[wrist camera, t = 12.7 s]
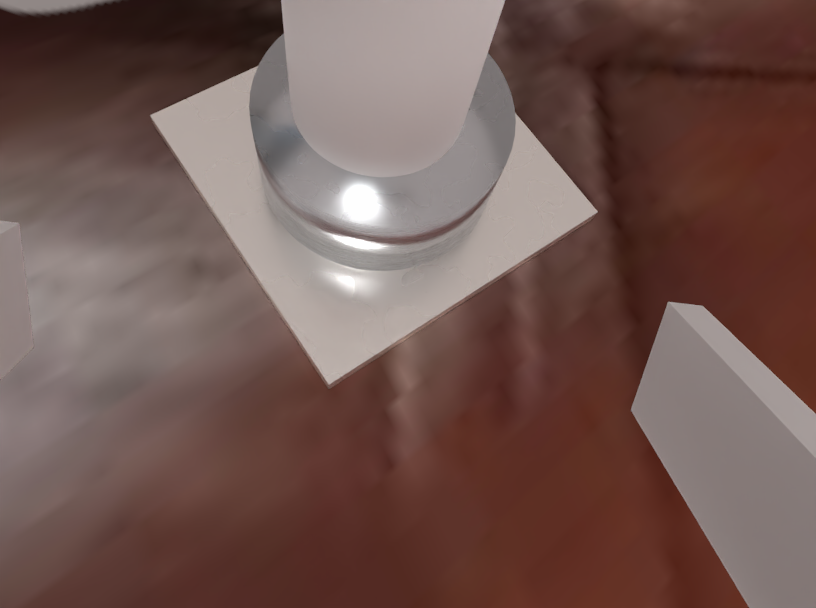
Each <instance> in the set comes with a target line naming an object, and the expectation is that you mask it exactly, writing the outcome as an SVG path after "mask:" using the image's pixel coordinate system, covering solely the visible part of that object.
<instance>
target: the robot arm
mask: <svg viewBox="0 0 816 608" xmlns="http://www.w3.org/2000/svg"><path fill="white" fill-rule="evenodd" d="M33 348H34V342H33V334H32V325H31V317H30V308H29V300H28V291H27V283H26V274H25V266H24V257H23V249H22V240H21V231H20V223H16V222H7V221H0V380H1V379H2V378H3V377H4V376H5V375H6V374H7V373H8V372H9V371H10V370H11V369H12V368H13V367H14V366H15V365H16V364H17V363H18V362H19V361H20V360H21V359H22V358H23V357H25V356H26V355H27V354H28V353H29V352H30V351H31V350H32V349H33ZM631 411H632V413H633V415H634V416H635V418H636V420H637V421H638V423H639V425H640V426H641V428H642V430H643V431H644V433H645V435H646V436H647V438H648V440H649V441H650V443H651V445H652V446H653V448H654V450H655V451H656V453H657V455H658V456H659V458H660V460H661V461H662V463H663V465H664V466H665V468H666V470H667V471H668V473H669V475H670V476H671V478H672V480H673V481H674V483H675V485H676V486H677V488H678V490H679V491H680V493H681V495H682V496H683V498H684V500H685V501H686V503H687V505H688V506H689V508H690V510H691V511H692V513H693V515H694V516H695V518H696V520H697V521H698V523H699V525H700V526H701V528H702V530H703V531H704V533H705V535H706V536H707V538H708V540H709V542H710V543H711V545H712V547H713V548H714V550H715V552H716V553H717V555H718V557H719V558H720V560H721V562H722V563H723V565H724V567H725V568H726V570H727V572H728V573H729V575H730V577H731V578H732V580H733V582H734V583H735V585H736V587H737V588H738V590H739V592H740V593H741V595H742V597H743V598H744V600H745V602H746V603H747V605H748V607H749V608H816V414H815V413H814V412H813V411H812V410H811V409H810V408H809V407H808V406H807V405H806V404H805V403H804V402H803V401H802V400H801V399H799V398H798V397H797V396H796V395H795V394H794V393H793V392H792V391H791V390H790V389H789V388H788V387H787V386H786V385H785V384H784V383H783V382H782V381H781V380H780V379H779V378H778V377H776V376H775V375H774V374H773V373H772V372H771V371H770V370H769V369H768V368H767V367H766V366H765V365H764V364H763V363H762V362H761V361H760V360H759V359H758V358H757V357H756V356H755V355H753V354H752V353H751V352H750V351H749V350H748V349H747V348H746V347H745V346H744V345H743V344H742V343H741V342H740V341H739V340H738V339H737V338H736V337H735V336H734V335H733V334H732V333H731V332H729V331H728V330H727V329H726V328H725V327H724V326H723V325H722V324H721V323H720V322H719V321H718V320H717V319H716V318H715V317H714V316H713V315H712V314H711V313H710V312H709V311H708V310H706V309H705V308H704V307H703V306H699V305H691V304H683V303H674V302H668V304H667V307H666V310H665V313H664V316H663V318H662V321H661V324H660V327H659V330H658V333H657V336H656V339H655V342H654V344H653V347H652V350H651V353H650V356H649V359H648V362H647V365H646V368H645V371H644V373H643V376H642V379H641V382H640V385H639V388H638V391H637V394H636V397H635V400H634V402H633V405H632V408H631Z"/></svg>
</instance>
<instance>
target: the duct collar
mask: <svg viewBox="0 0 816 608" xmlns="http://www.w3.org/2000/svg"><path fill="white" fill-rule="evenodd" d="M150 117H151V119H152V122H153V124H154V126H155V128H156V129H157V131H158V132H159V134H160V135H161V137H162V138H163V140H164V141H165V143H166V144H167V146H168V147H169V149H170V150H171V152H172V153H173V155H174V156H175V158H176V160H177V161H178V163H179V164H180V166H181V167H182V169H183V170H184V172H185V173H186V175H187V176H188V178H189V179H190V181H191V182H192V184H193V185H194V187H195V188H196V190H197V191H198V193H199V194H200V196H201V197H202V199H203V200H204V202H205V203H206V205H207V206H208V208H209V209H210V211H211V212H212V214H213V215H214V217H215V218H216V220H217V221H218V223H219V224H220V226H221V227H222V229H223V230H224V232H225V233H226V235H227V236H228V238H229V239H230V241H231V242H232V244H233V245H234V247H235V248H236V250H237V251H238V253H239V254H240V256H241V258H242V259H243V261H244V262H245V264H246V265H247V267H248V268H249V270H250V271H251V273H252V274H253V276H254V277H255V279H256V280H257V282H258V283H259V285H260V286H261V288H262V289H263V291H264V292H265V294H266V295H267V297H268V298H269V300H270V301H271V303H272V304H273V306H274V307H275V309H276V310H277V312H278V313H279V315H280V316H281V318H282V319H283V321H284V322H285V324H286V325H287V327H288V328H289V330H290V331H291V333H292V334H293V336H294V337H295V339H296V340H297V342H298V343H299V345H300V346H301V348H302V349H303V351H304V352H305V354H306V356H307V357H308V359H309V360H310V362H311V363H312V365H313V366H314V368H315V369H316V371H317V372H318V374H319V375H320V377H321V378H322V380H323V381H324V383H325V384H326V386H327V387H328V389H330V388H331V387H333V386H335V385H336V384H338V383H339V382H341V381H342V380H344V379H345V378H347V377H349V376H350V375H352V374H353V373H355V372H356V371H358V370H359V369H361V368H363V367H364V366H366V365H367V364H369V363H370V362H372V361H373V360H375V359H376V358H378V357H380V356H381V355H383V354H384V353H386V352H387V351H389V350H390V349H392V348H394V347H395V346H397V345H398V344H400V343H401V342H403V341H404V340H406V339H408V338H409V337H411V336H412V335H414V334H415V333H417V332H418V331H420V330H421V329H423V328H425V327H426V326H428V325H429V324H431V323H432V322H434V321H435V320H437V319H439V318H440V317H442V316H443V315H445V314H446V313H448V312H449V311H451V310H453V309H454V308H456V307H457V306H459V305H460V304H462V303H463V302H465V301H466V300H468V299H470V298H471V297H473V296H474V295H476V294H477V293H479V292H480V291H482V290H484V289H485V288H487V287H488V286H490V285H491V284H493V283H494V282H496V281H498V280H499V279H501V278H502V277H504V276H505V275H507V274H508V273H510V272H512V271H513V270H515V269H516V268H518V267H519V266H521V265H522V264H524V263H525V262H527V261H529V260H530V259H532V258H533V257H535V256H536V255H538V254H539V253H541V252H543V251H544V250H546V249H547V248H549V247H550V246H552V245H553V244H555V243H557V242H558V241H560V240H561V239H563V238H564V237H566V236H567V235H569V234H570V233H572V232H574V231H575V230H577V229H578V228H580V227H581V226H583V225H584V224H586V223H588V222H589V221H591V220H592V218H593V217H594V216H595V215H596V214H597V212H598V211H597V210H596V209H595V208H594V207H593V205H592V204H591V203H590V202H589V201H588V199H587V198H586V197H585V196H584V195H583V193H582V192H581V191H580V190H579V189H578V187H577V186H576V185H575V184H574V183H573V181H572V180H571V179H570V178H569V177H568V175H567V174H566V173H565V172H564V171H563V169H562V168H561V167H560V166H559V165H558V163H557V162H556V161H555V160H554V159H553V157H552V156H551V155H550V154H549V153H548V151H547V150H546V149H545V148H544V147H543V145H542V144H541V143H540V142H539V141H538V139H537V138H536V137H535V136H534V135H533V133H532V132H531V131H530V130H529V129H528V127H527V126H526V125H525V124H524V123H523V121H522V120H521V119H520V118H519V117H518V115H517V114H516V113H515V108H514V103H513V99H512V95H511V92H510V89H509V87H508V84H507V82H506V79H505V77H504V75H503V74H502V72H501V70H500V68H499V67H498V65H497V64H496V62H495V61H494V60H493V58H492V57H491V56H490V54H489V53H487V56H486V59H485V62H484V65H483V68H482V71H481V74H480V77H479V80H478V83H477V86H476V89H475V92H474V95H473V98H472V101H471V104H470V107H469V110H468V113H467V115H466V118H465V121H464V124H463V126H462V129H461V131H460V134H459V136H458V138H457V139H456V141H455V143H454V144H453V146H452V147H451V148H450V149H449V151H448V152H447V153H446V154H445V155H444V156H443V157H441V158H440V159H439V160H438V161H436V162H435V163H433V164H432V165H430V166H428V167H426V168H424V169H422V170H420V171H417V172H414V173H411V174H407V175H403V176H397V177H371V176H365V175H360V174H356V173H353V172H350V171H347V170H344V169H342V168H340V167H338V166H336V165H334V164H332V163H330V162H329V161H327V160H326V159H324V158H323V157H322V156H320V155H319V154H318V153H317V152H316V151H314V150H313V149H312V148H311V146H310V145H309V144H308V143H307V142H306V141H305V139H304V138H303V136H302V135H301V133H300V131H299V130H298V128H297V126H296V123H295V120H294V117H293V113H292V108H291V100H290V92H289V82H288V71H287V61H286V50H285V39H284V33H283V34H282V35H281V36H280V37H279V38H278V39H277V40H276V41H275V42H274V43H273V45H272V46H271V47H270V48H269V49H268V51H267V52H266V54H265V55H264V57H263V59H262V60H261V62H260V64H259V66H257V67H254V68H252V69H250V70H248V71H246V72H243V73H241V74H239V75H237V76H235V77H233V78H230V79H228V80H226V81H224V82H222V83H219V84H217V85H215V86H213V87H211V88H208V89H206V90H204V91H202V92H200V93H198V94H195V95H193V96H191V97H189V98H187V99H184V100H182V101H180V102H178V103H176V104H173V105H171V106H169V107H167V108H165V109H163V110H160V111H158V112H156V113H154V114H152V115H150Z"/></svg>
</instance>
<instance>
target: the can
mask: <svg viewBox="0 0 816 608" xmlns="http://www.w3.org/2000/svg"><path fill="white" fill-rule="evenodd" d="M504 2H505V0H281V5H282V16H283V28H284V39H285V50H286V61H287V71H288V82H289V92H290V100H291V108H292V113H293V117H294V120H295V123H296V126H297V128H298V130H299V131H300V133H301V135H302V136H303V138H304V139H305V141H306V142H307V143H308V144H309V145H310V146H311V148H312V149H313V150H314V151H316V152H317V153H318V154H319V155H320V156H322V157H323V158H324V159H326V160H327V161H329V162H330V163H332V164H334V165H336V166H338V167H340V168H342V169H344V170H347V171H350V172H353V173H356V174H360V175H365V176H371V177H397V176H403V175H407V174H411V173H414V172H417V171H420V170H422V169H424V168H426V167H428V166H430V165H432V164H433V163H435V162H436V161H438V160H439V159H440V158H441V157H443V156H444V155H445V154H446V153H447V152H448V151H449V149H450V148H451V147H452V146H453V144H454V143H455V141H456V139H457V138H458V136H459V134H460V131H461V129H462V126H463V124H464V121H465V118H466V115H467V113H468V110H469V107H470V104H471V101H472V98H473V95H474V92H475V89H476V86H477V83H478V80H479V77H480V74H481V71H482V68H483V65H484V62H485V59H486V56H487V53H488V50H489V47H490V44H491V42H492V39H493V36H494V33H495V30H496V27H497V23H498V20H499V17H500V14H501V11H502V8H503V5H504Z"/></svg>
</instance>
